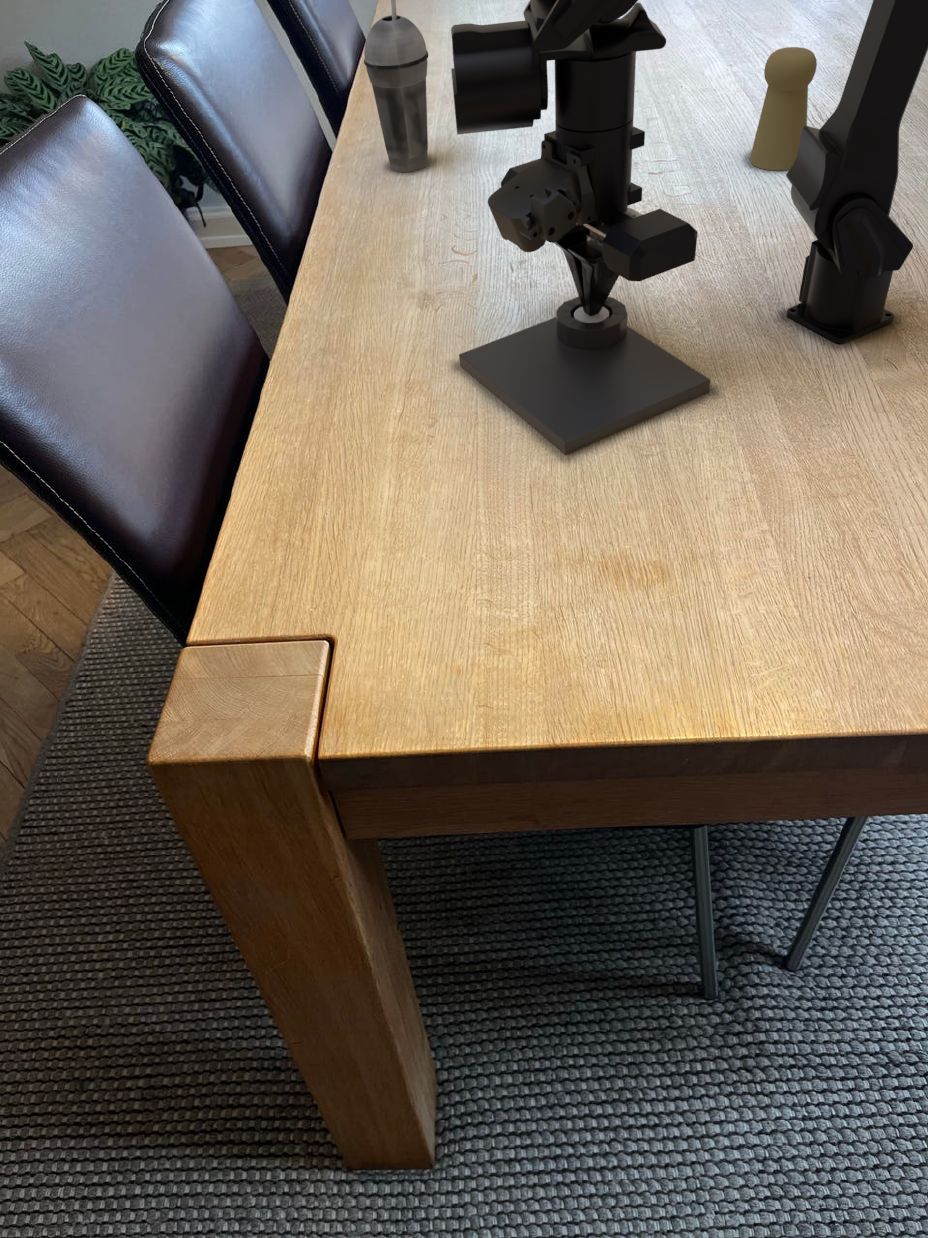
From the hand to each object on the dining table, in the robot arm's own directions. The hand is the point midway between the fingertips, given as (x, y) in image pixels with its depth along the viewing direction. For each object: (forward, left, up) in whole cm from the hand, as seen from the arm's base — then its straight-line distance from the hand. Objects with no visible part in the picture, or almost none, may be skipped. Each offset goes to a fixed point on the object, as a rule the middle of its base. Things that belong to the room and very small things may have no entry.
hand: (591, 313), depth 82 cm
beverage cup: (+47, -7, -3) cm, 48 cm away
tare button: (0, 0, -2) cm, 1 cm away
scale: (-4, +4, -3) cm, 6 cm away
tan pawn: (+19, -39, -3) cm, 43 cm away
